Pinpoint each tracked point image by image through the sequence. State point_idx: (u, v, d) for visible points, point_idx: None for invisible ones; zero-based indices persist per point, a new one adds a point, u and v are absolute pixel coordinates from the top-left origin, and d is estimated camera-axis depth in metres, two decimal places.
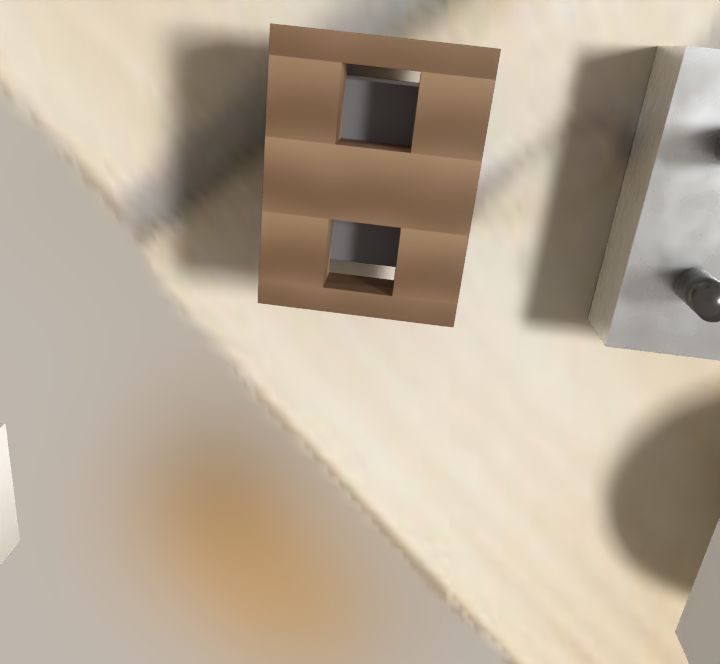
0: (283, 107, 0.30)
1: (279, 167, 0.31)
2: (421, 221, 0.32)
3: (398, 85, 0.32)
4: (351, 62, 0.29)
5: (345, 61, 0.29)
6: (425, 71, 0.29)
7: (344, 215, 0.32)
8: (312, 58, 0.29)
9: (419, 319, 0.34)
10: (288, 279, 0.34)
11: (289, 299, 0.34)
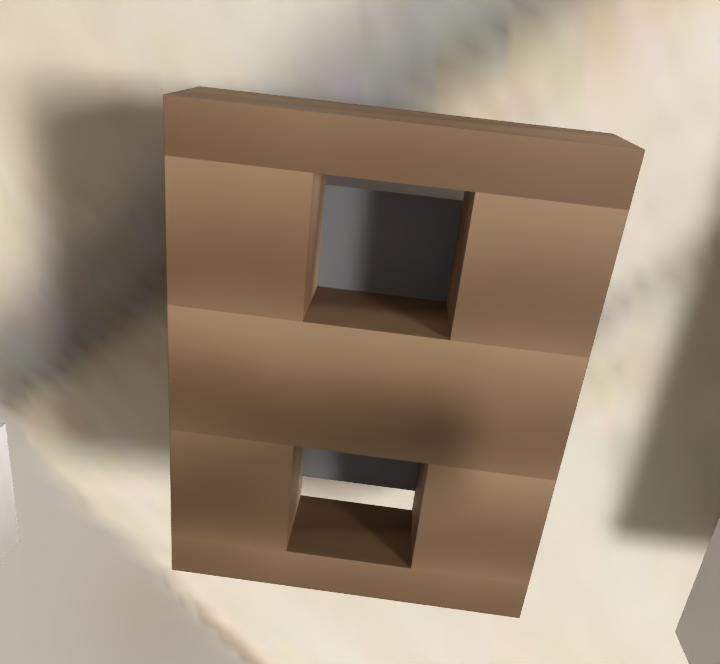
0: (200, 254, 0.15)
1: (197, 358, 0.16)
2: (467, 454, 0.17)
3: (424, 197, 0.17)
4: (332, 172, 0.14)
5: (320, 170, 0.14)
6: (484, 191, 0.14)
7: (322, 441, 0.17)
8: (252, 164, 0.14)
9: (459, 604, 0.19)
10: (224, 537, 0.19)
11: (227, 566, 0.19)
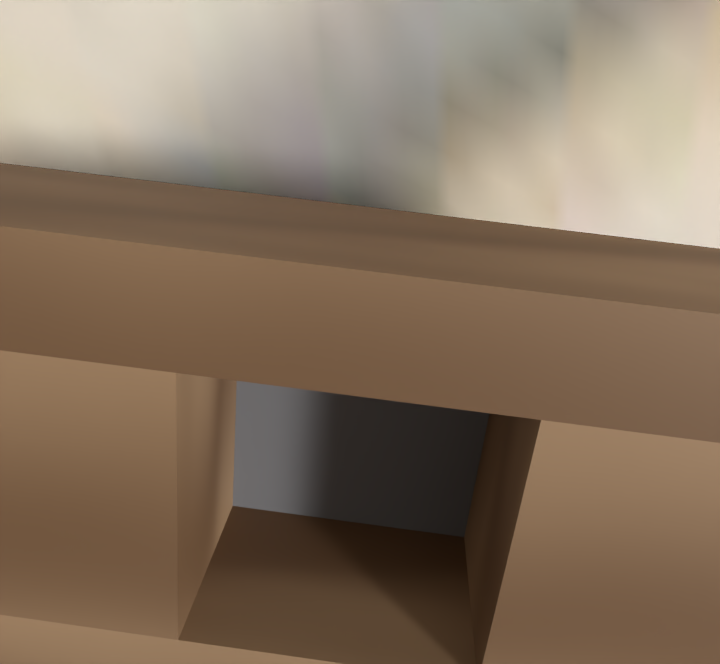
0: None
1: None
2: None
3: None
4: (218, 373, 0.06)
5: (191, 369, 0.06)
6: (560, 419, 0.06)
7: None
8: (42, 352, 0.06)
9: None
10: None
11: None
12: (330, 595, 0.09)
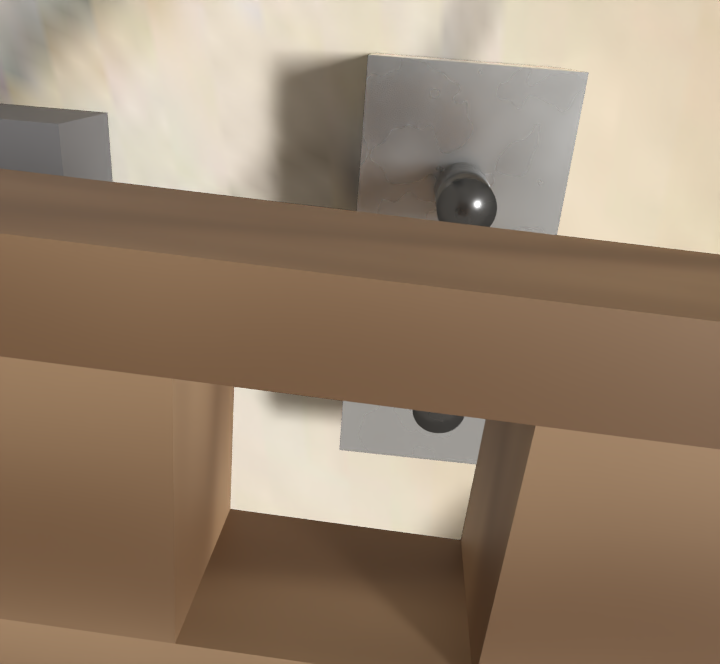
0: None
1: None
2: None
3: None
4: (215, 379, 0.06)
5: (187, 374, 0.06)
6: (555, 425, 0.06)
7: None
8: (39, 358, 0.07)
9: None
10: None
11: None
12: (327, 599, 0.09)
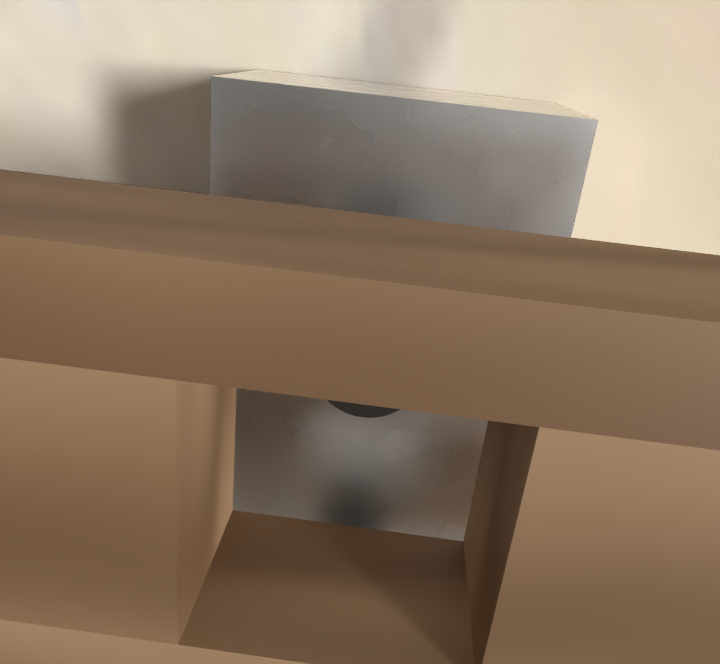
0: None
1: None
2: None
3: None
4: (218, 381, 0.06)
5: (191, 376, 0.06)
6: (558, 427, 0.06)
7: None
8: (43, 359, 0.07)
9: None
10: None
11: None
12: (330, 599, 0.09)
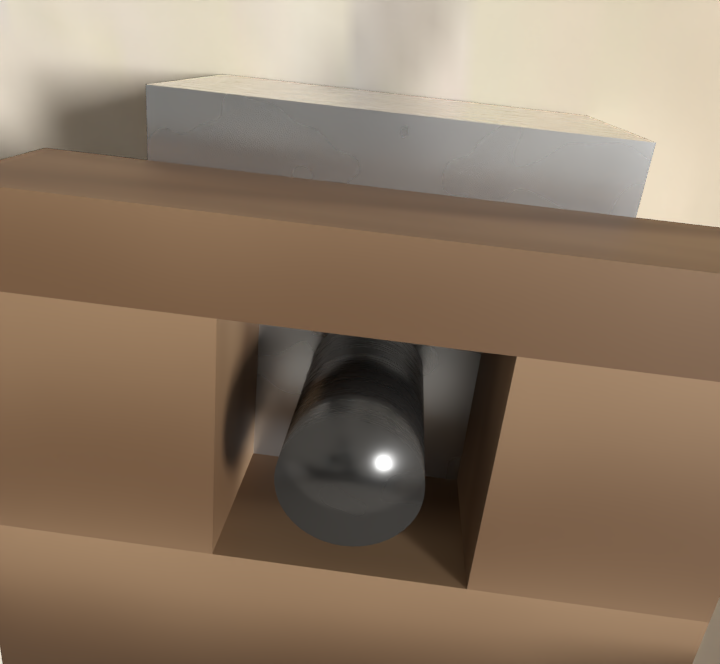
0: (28, 447, 0.09)
1: (42, 601, 0.10)
2: None
3: None
4: (251, 319, 0.08)
5: (229, 315, 0.08)
6: (532, 356, 0.08)
7: None
8: (106, 301, 0.08)
9: None
10: None
11: None
12: None
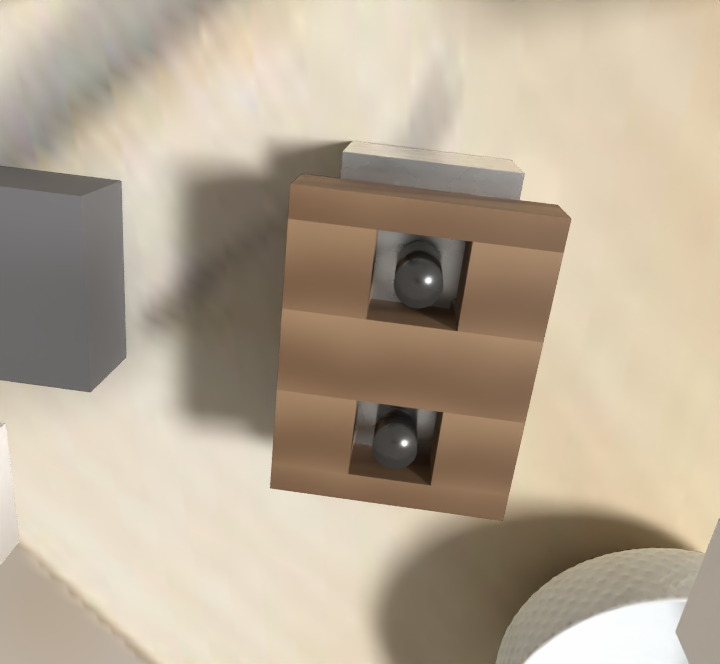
0: (305, 277, 0.25)
1: (298, 342, 0.26)
2: (468, 406, 0.27)
3: (28, 190, 0.28)
4: (388, 229, 0.24)
5: (380, 228, 0.24)
6: (478, 241, 0.24)
7: (375, 397, 0.27)
8: (340, 224, 0.24)
9: (462, 511, 0.28)
10: (307, 464, 0.28)
11: (307, 485, 0.29)
12: (410, 316, 0.26)
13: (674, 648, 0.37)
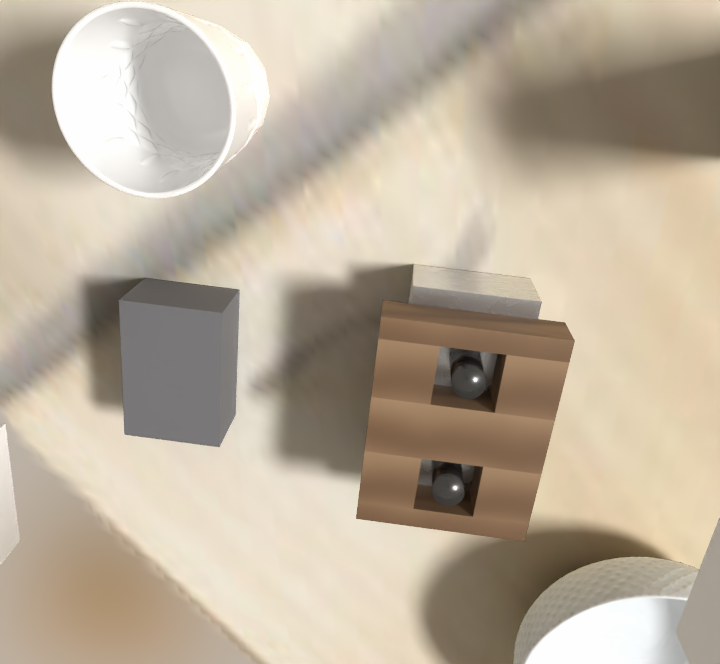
0: (388, 377, 0.36)
1: (381, 419, 0.37)
2: (501, 462, 0.38)
3: (184, 308, 0.38)
4: (448, 346, 0.35)
5: (443, 345, 0.35)
6: (510, 354, 0.35)
7: (435, 456, 0.38)
8: (415, 342, 0.35)
9: (495, 534, 0.40)
10: (383, 502, 0.39)
11: (383, 516, 0.40)
12: (459, 399, 0.37)
13: (651, 630, 0.49)
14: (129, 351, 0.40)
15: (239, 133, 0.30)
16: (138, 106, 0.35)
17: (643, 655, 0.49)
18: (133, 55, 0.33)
